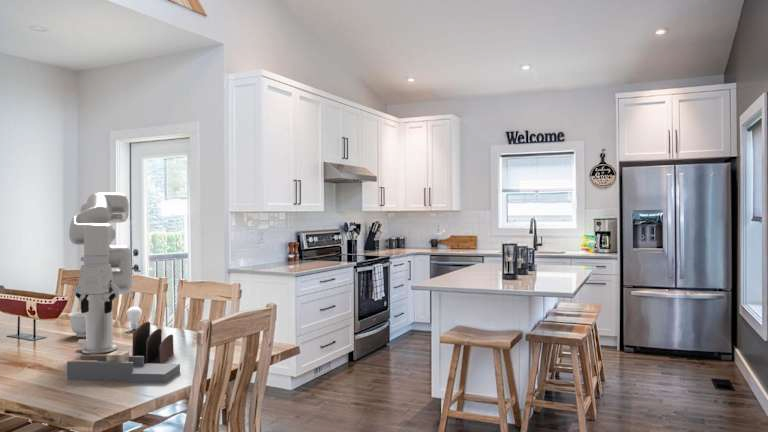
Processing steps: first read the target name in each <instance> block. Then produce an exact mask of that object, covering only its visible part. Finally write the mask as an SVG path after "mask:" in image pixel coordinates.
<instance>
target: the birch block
mask: <svg viewBox="0 0 768 432" xmlns="http://www.w3.org/2000/svg"><path fill="white" fill-rule="evenodd" d="M106 355H107V362H129V356H130V352H129V351H127V350H126V351H122V350H121V351H118V350H117V351H116V350H113V352H112V351H111V352H110V353H107V354H106Z"/></svg>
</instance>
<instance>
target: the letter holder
mask: <svg viewBox="0 0 768 432" xmlns="http://www.w3.org/2000/svg"><path fill="white" fill-rule="evenodd" d="M131 354H132V355H131V356H144V365H145V364H146V363H151V364H166V362H167V361H168V360H169V359H170V358H171V357H172V356H173V355H174V335H173V334H169V335H167V336H166V337H165V338H164V339H163V340H162V328H158V329H155V330H154V331H152V332H151V323H150V321H144V323H142V324H140V325H138V328H137V329H135V330H134V332H133V333H132V353H131Z"/></svg>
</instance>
